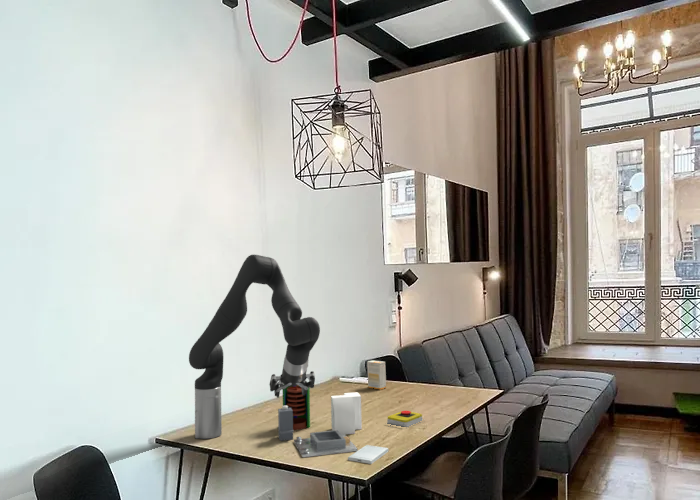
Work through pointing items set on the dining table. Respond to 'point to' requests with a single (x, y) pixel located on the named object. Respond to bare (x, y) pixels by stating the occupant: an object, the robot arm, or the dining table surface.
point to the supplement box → (376, 374)
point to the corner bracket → (346, 413)
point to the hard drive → (368, 454)
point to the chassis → (324, 444)
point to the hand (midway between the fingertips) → (290, 394)
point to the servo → (285, 423)
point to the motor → (298, 406)
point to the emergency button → (404, 418)
